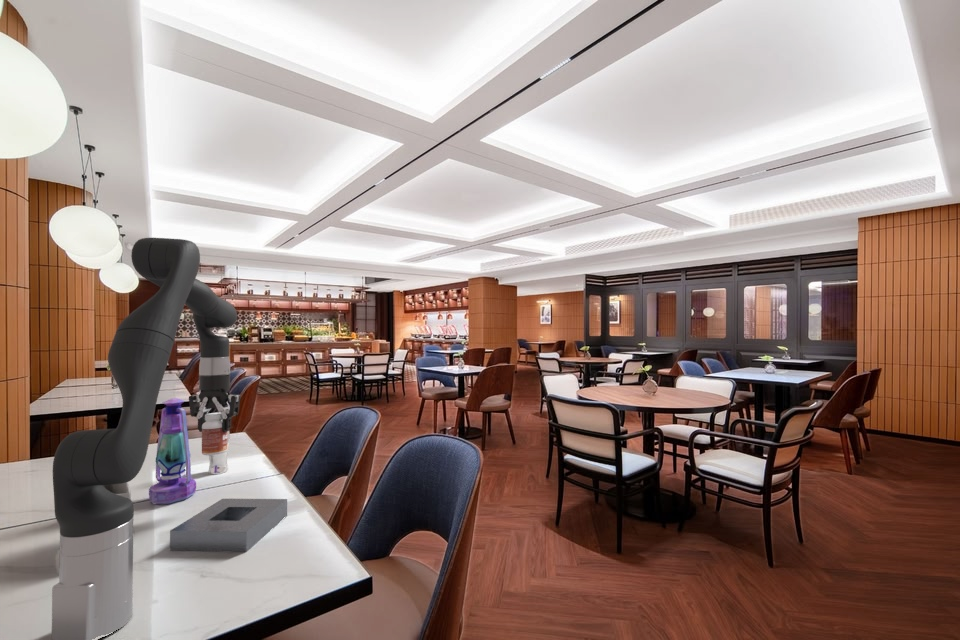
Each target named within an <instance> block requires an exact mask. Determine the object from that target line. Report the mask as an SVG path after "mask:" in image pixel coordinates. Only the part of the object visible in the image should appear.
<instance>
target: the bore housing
mask: <svg viewBox="0 0 960 640" xmlns="http://www.w3.org/2000/svg"><path fill="white" fill-rule="evenodd" d="M285 516H286V517H288V499H287V498H221V499H219V500H218V501H217V502H215V503H212V504H211V505H209V506H208V507H206V508H205V509H203V510H202V511H200V512H199V513H197V514H194V515H193V516H192V517H190V518H189V519H187V520H185V521H183V522H182V523H180V524H179V525H177V526H176V527H174V528H172V529H170V531H169V551H173V552H175V551H176V552H229V553H230V552H237V553H238V552H242V553H244V552H245V553H247V552H248V551H249V550H251V548H252V547H254V546H255V545H256V544H257V543H259V541H261V540H262V539H263V538H264V537H265V536H266V535H267V534H268V533H269V532H271V531H270V530H271V529H272V528H273V529H274V528H275V527H276V526H278V525H279V524H280V523H281V522H282V521H283V520H284V519H285V518H286V517H285ZM284 517H285V518H284ZM283 518H284V519H283ZM282 519H283V520H282ZM281 520H282V521H281ZM280 521H281V522H280ZM279 522H280V523H279ZM278 523H279V524H278ZM273 529H272V530H273Z"/></svg>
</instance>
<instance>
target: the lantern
mask: <svg viewBox="0 0 960 640" xmlns="http://www.w3.org/2000/svg"><path fill="white" fill-rule="evenodd" d="M184 402H186V401H185V400H183V399H181V398H176V397H174V398H170V399H168V400H165V401H163V402H162V404H164V405H165V407H164V408H162V409H161V415H160V426H159V433H158V439H157V448H156V455H155V456H156V457H155V479H156V481H157V483H156V484H154V485H151V486H150V487H149V488H148V497H149V501H150V502H151V503H152V504H153V505H164V504H165V505H166V504H173V503H178V502H181V501H185V500H187V499H188V498H190V497H192V495H194V494H195V493H196V490H197V481H196V480H195V479H194V478H192V473H191V472H192V471H191V470H192V469H191V468H192V467H191V451H190V443H189V433H188V425H187V413H186V409H184V408H183V407H182V404H183V403H184Z"/></svg>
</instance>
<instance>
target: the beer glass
mask: <svg viewBox="0 0 960 640" xmlns="http://www.w3.org/2000/svg"><path fill="white" fill-rule="evenodd" d="M230 433H231V432H230V430H229V431H227V451H226V452H224V453H221V454H217V455H208V459H209V461H208V462H209V466H208V472H207V473H208V475H211V474H214V475H220V474H224V473H227V472H228V471H229V466H228V455H229V450H230V444H231V443H230V442H231V439H230V438H231V436H230Z"/></svg>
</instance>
